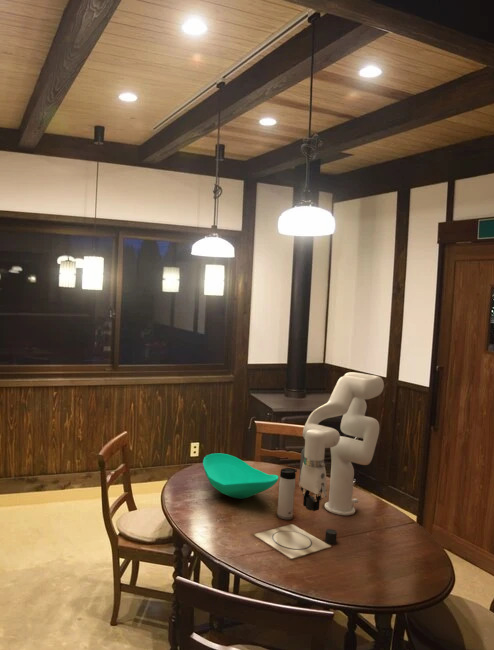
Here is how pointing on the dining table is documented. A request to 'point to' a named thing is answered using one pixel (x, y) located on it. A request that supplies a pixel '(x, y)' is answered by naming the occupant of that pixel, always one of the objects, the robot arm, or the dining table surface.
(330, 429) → the robot arm
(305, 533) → the drawing board
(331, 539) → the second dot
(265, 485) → the table top decor
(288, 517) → the travel mug
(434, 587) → the dining table surface
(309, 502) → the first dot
